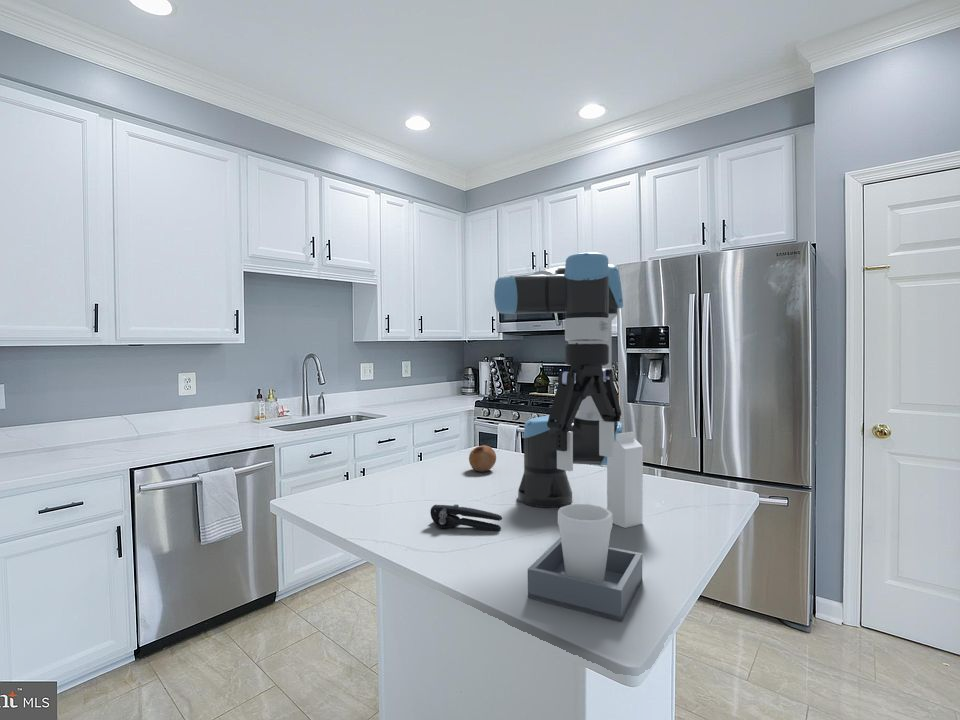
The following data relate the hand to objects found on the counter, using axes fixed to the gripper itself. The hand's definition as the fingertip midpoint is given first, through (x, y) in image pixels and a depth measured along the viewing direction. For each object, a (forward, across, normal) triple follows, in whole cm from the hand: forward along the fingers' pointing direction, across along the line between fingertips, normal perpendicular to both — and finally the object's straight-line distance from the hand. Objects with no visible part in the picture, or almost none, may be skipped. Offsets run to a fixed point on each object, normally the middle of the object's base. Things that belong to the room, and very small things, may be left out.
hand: (586, 462), depth 90 cm
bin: (+23, 0, 0) cm, 23 cm away
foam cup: (+22, -1, 0) cm, 22 cm away
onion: (+23, +48, +72) cm, 89 cm away
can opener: (+23, +6, +38) cm, 44 cm away
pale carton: (+23, +35, +11) cm, 43 cm away
